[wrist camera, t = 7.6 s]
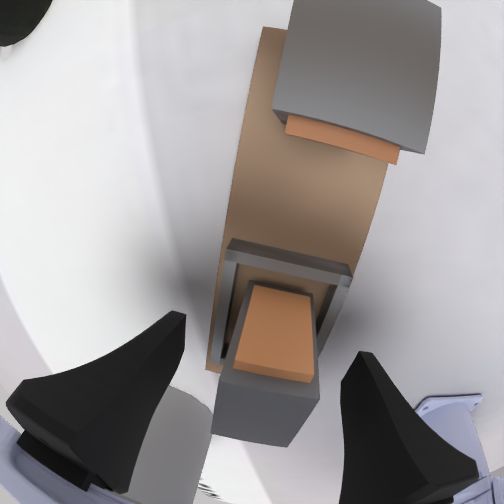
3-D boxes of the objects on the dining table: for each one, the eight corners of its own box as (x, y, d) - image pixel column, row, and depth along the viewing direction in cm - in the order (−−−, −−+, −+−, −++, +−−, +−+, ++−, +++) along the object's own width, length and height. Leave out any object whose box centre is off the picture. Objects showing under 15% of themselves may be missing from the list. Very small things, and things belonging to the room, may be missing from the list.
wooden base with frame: (301, 376, 17) (297, 475, 10) (210, 356, 17) (175, 451, 10) (397, 70, 9) (491, 25, 2) (265, 35, 9) (233, -58, 3)
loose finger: (292, 348, 14) (287, 447, 9) (237, 336, 14) (210, 433, 9) (315, 286, 12) (324, 391, 7) (250, 272, 13) (220, 372, 7)
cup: (210, 442, 22) (186, 526, 13) (133, 416, 23) (96, 492, 14) (220, 400, 19) (186, 516, 10) (122, 367, 19) (64, 463, 10)
